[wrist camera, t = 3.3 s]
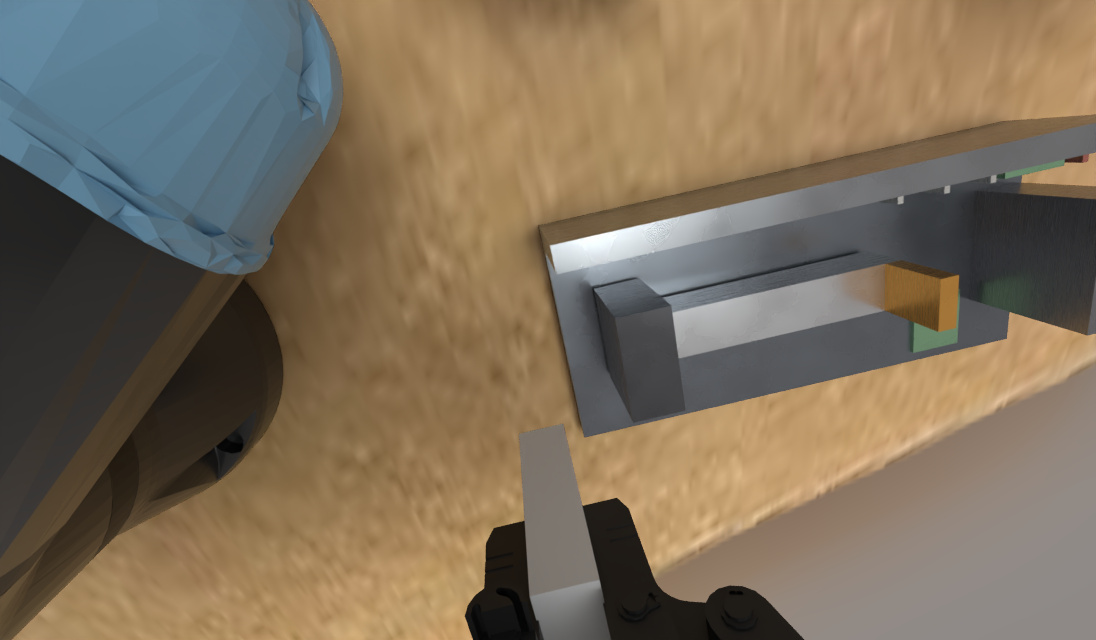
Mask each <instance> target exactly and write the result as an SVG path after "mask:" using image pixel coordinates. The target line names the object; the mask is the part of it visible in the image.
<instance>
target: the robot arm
mask: <svg viewBox="0 0 1096 640" xmlns="http://www.w3.org/2000/svg"><path fill="white" fill-rule="evenodd" d="M342 101H343V78H342V71H341V66H340V62H339V58H338V55H337V51H336V48H335V45H334V43H333V41H332V38H331V37H330V34H329V32H328V30H327V29H326V27H325V25H324V23H323V21H322V19H321V18H320V16H319V15H318V13H317V12H316V10H315V9H314V7H313V6H312V5H311V4H310V2H309V1H308V0H0V640H12V639H13V638H14V637H15V636H16V635H17V634H18V633H19V632H20V631H21V630H22V629H23V628H24V627H25V626H26V625H27V624H28V623H29V622H30V621H31V620H32V619H33V618H34V617H35V616H36V615H37V614H38V613H39V612H40V611H41V610H42V609H43V608H44V607H45V606H46V605H47V604H48V603H49V602H50V601H51V600H52V599H53V598H54V597H55V596H56V595H57V594H58V593H59V592H60V591H61V590H62V589H63V588H64V587H65V586H66V585H67V584H68V583H69V582H70V581H71V580H72V579H73V578H74V577H75V576H76V575H77V574H78V573H79V572H80V571H81V570H82V569H83V568H84V567H85V566H86V565H87V564H88V563H89V562H90V561H91V560H92V559H93V558H94V557H95V556H96V555H97V554H98V553H99V552H100V551H101V550H102V549H103V548H104V547H105V546H106V545H107V544H108V543H109V542H110V541H111V540H112V539H114V538H115V537H116V536H117V535H119V534H121V533H123V532H125V531H127V530H129V529H131V528H133V527H135V526H137V525H138V524H140V523H142V522H144V521H146V520H148V519H150V518H152V517H154V516H156V515H158V514H160V513H162V512H164V511H165V510H167V509H169V508H171V507H173V506H175V505H177V504H179V503H181V502H183V501H185V500H187V499H189V498H191V497H192V496H194V495H196V494H198V493H200V492H202V491H204V490H206V489H207V488H209V487H211V486H212V485H214V484H215V483H217V482H218V481H219V480H221V479H222V478H223V477H225V476H226V475H227V474H228V473H229V472H231V471H232V470H233V469H234V468H235V467H236V466H237V465H238V464H239V463H240V462H241V461H242V460H243V458H244V457H245V456H246V455H247V454H248V452H249V451H250V450H251V449H252V448H253V447H254V445H255V444H256V443H257V442H258V441H259V439H260V438H261V437H262V436H263V434H264V433H265V431H266V430H267V428H268V427H269V425H270V423H271V421H272V419H273V417H274V415H275V412H276V409H277V406H278V403H279V399H280V395H281V389H282V377H283V372H282V358H281V352H280V347H279V343H278V340H277V336H276V333H275V331H274V328H273V325H272V323H271V321H270V319H269V316H268V314H267V313H266V311H265V309H264V307H263V305H262V304H261V302H260V301H259V299H258V297H257V296H256V294H255V293H254V292H253V290H252V289H251V288H250V286H249V285H248V284H247V283H246V282H245V280H244V277H245V276H246V274H247V273H251V272H257V271H258V270H259V269H261V268H262V266H263V265H264V264H265V262H266V261H267V260H268V258H269V256H270V254H271V252H272V249H273V247H274V236H273V231H274V230H275V228H276V226H277V224H278V223H279V221H280V219H281V217H282V216H283V214H284V212H285V211H286V209H287V207H288V206H289V204H290V203H291V201H292V199H293V198H294V196H295V195H296V193H297V191H298V190H299V188H300V187H301V185H302V183H303V182H304V180H305V179H306V177H307V175H308V174H309V172H310V171H311V169H312V168H313V166H314V164H315V163H316V161H317V160H318V158H319V156H320V155H321V153H322V152H323V150H324V148H325V147H326V145H327V144H328V142H329V140H330V139H331V137H332V135H333V133H334V131H335V129H336V127H337V124H338V121H339V118H340V114H341V109H342ZM519 440H520V455H521V471H522V487H523V502H524V518H525V521H522V522H518V523H513V524H509V525H505V526H501V527H496V528H494V529H493V531H492V533H491V535H490V537H489V539H488V541H487V543H486V562H485V585H484V589H483V590H482V591H480V592H479V593H478V594H476V595H475V596H474V598H473V599H472V601H471V602H470V603H469V605H468V607H467V611H466V614H465V618H466V621H467V624H468V626H469V629H470V632H471V635H472V638H473V640H804V639H803V638H802V637H801V636H800V635H799V634H798V633H797V632H796V630H795V629H793V627H792V626H791V625H790V624H789V623H788V622H787V621H786V620H785V619H784V618H783V617H782V616H781V615H780V614H779V613H778V611H776V609H775V608H774V607H773V606H772V605H771V604H770V603H769V602H768V601H767V600H766V599H765V598H764V597H762V596H761V595H760V594H758V593H757V592H756V591H754V590H751V589H748V588H746V587H743V586H727V587H723V588H719V589H717V590H716V591H715V592H714V593H712V594H711V595H710V596H709V598H708V600H707V602H706V603H702V602H688V601H682V600H678V599H676V598H673V597H671V596H669V595H668V594H666V593H665V592H663V591H662V590H661V588H660V587H659V586H658V585H657V583H656V582H655V580H654V577H653V575H652V572H651V569H650V566H649V564H648V561H647V558H646V555H645V552H644V550H643V547H642V544H641V541H640V539H639V537H638V533H637V530H636V528H635V525H634V522H633V519H632V517H631V514H630V511H629V508H627V507H626V506H625V505H624V504H623V503H622V502H621V501H620V500H619V499H617V498H615V499H610V500H606V501H602V502H597V503H593V504H589V505H585V506H582V502H581V498H580V494H579V489H578V485H577V481H576V476H575V472H574V468H573V464H572V459H571V455H570V451H569V446H568V442H567V438H566V434H565V429H564V425H563V424H559V425H555V426H551V427H546V428H542V429H538V430H533V431H529V432H525V433H521V434H519Z"/></svg>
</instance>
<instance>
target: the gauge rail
mask: <svg viewBox="0 0 1096 640" xmlns="http://www.w3.org/2000/svg"><path fill="white" fill-rule="evenodd" d="M1095 152H1096V115H1084V116H1069V117H1055V118H1041V119H1027V120H1012V121H1002V122H998V123H994V124H989V125H985V126H980V127H976V128H971V129H967V130H962V131H958V132H953V133H949V134H944V135H940V136H935V137H931V138H927V139H922V140H918V141H913V142H909V143H904V144H900V145H895V146H891V147H886V148H882V149H877V150H873V151H868V152H864V153H860V154H855V155H851V156H846V157H842V158H837V159H833V160H828V161H824V162H819V163H815V164H810V165H806V166H801V167H797V168H793V169H788V170H784V171H779V172H775V173H770V174H766V175H761V176H757V177H752V178H748V179H743V180H739V181H735V182H730V183H726V184H721V185H717V186H712V187H708V188H703V189H699V190H694V191H690V192H685V193H681V194H676V195H672V196H668V197H663V198H659V199H654V200H650V201H645V202H641V203H636V204H632V205H627V206H623V207H618V208H614V209H609V210H605V211H601V212H596V213H592V214H587V215H583V216H578V217H574V218H569V219H565V220H560V221H556V222H551V223H547V224H542V225H538V226H539V231H540V235H541V240H542V245H543V249H544V254H545V259H546V263H547V268H548V273H549V277H550V282H551V287H552V292H553V296H554V301H555V306H556V310H557V315H558V320H559V324H560V329H561V334H562V338H563V343H564V348H565V353H566V357H567V362H568V367H569V371H570V376H571V381H572V385H573V390H574V395H575V399H576V404H577V409H578V414H579V418H580V423H581V427H582V431H583V434H584V437H589V436H593V435H597V434H602V433H606V432H610V431H614V430H619V429H623V428H627V427H632V426H636V425H640V424H644V423H649V422H653V421H657V420H661V419H666V418H670V417H674V416H678V415H683V414H687V413H691V412H696V411H700V410H704V409H708V408H713V407H717V406H721V405H725V404H730V403H734V402H738V401H742V400H747V399H751V398H755V397H760V396H764V395H768V394H772V393H777V392H781V391H785V390H789V389H794V388H798V387H802V386H806V385H811V384H815V383H819V382H824V381H828V380H832V379H836V378H841V377H845V376H849V375H853V374H858V373H862V372H866V371H870V370H875V369H879V368H883V367H888V366H892V365H896V364H900V363H905V362H909V361H913V360H917V359H922V358H926V357H930V356H934V355H939V354H943V353H947V352H952V351H956V350H960V349H964V348H969V347H973V346H977V345H981V344H986V343H990V342H994V341H998V340H1003V339H1007V331H1008V320H1009V312H1012V313H1015V314H1019V315H1022V316H1025V317H1028V318H1032V319H1035V320H1038V321H1042V322H1045V323H1048V324H1051V325H1055V326H1058V327H1061V328H1065V329H1068V330H1071V331H1075V332H1078V333H1081V334H1084V335H1091V334H1095V333H1096V186H1076V185H1056V184H1036V183H1021V180H1022V175H1024V174H1029V173H1033V172H1038V171H1042V170H1046V169H1051V168H1055V167H1060V166H1064V162H1076V163H1083V162H1087V161H1088V157H1089V154H1091V153H1095ZM865 251H868V252H872V253H876V254H880V255H884V256H887V257H891V258H895V259H899V260H903V261H907V262H911V263H915V264H919V265H922V266H926V267H930V268H934V269H938V270H942V271H946V272H950V273H954V274H958V275H959V287H958V304H957V322H956V328H954V329H950V330H945V331H941V332H937V331H934V330H932V329H929V328H927V327H924V326H922V325H919V324H917V323H914V322H912V321H909V320H907V319H904V318H902V317H899V316H897V315H894V314H892V313H889V312H887V311H881V312H877V313H873V314H868V315H864V316H860V317H856V318H851V319H847V320H843V321H838V322H834V323H830V324H825V325H821V326H817V327H812V328H808V329H804V330H799V331H795V332H791V333H786V334H782V335H778V336H774V337H769V338H765V339H761V340H756V341H752V342H748V343H743V344H739V345H735V346H730V347H726V348H722V349H717V350H713V351H709V352H704V353H700V354H696V355H692V356H687V357H683V358H679V365H680V373H681V380H682V388H683V395H684V402H685V410H686V411H682V412H677V413H673V414H669V415H665V416H660V417H656V418H652V419H648V420H643V421H639V422H635V423H633V421H632V419H631V417H630V415H629V413H628V411H627V409H626V407H625V405H624V403H623V401H622V399H621V398H620V396H619V394H618V392H617V390H616V388H615V386H614V384H613V382H612V380H611V378H610V374H609V369H608V364H607V358H606V353H605V347H604V342H603V337H602V331H601V326H600V320H599V315H598V310H597V304H596V299H595V293H594V288H599V287H603V286H608V285H612V284H616V283H621V282H625V281H630V280H634V279H638V278H640V279H641V280H642V281H643V282H645V283H646V284H647V285H648V286H649V287H650V288H652V289H653V290H654V291H655V292H656V293H657V294H658V295H660V296H661V297H662V298H664V297H668V296H673V295H677V294H681V293H686V292H690V291H694V290H699V289H703V288H708V287H712V286H716V285H721V284H725V283H729V282H734V281H738V280H743V279H747V278H751V277H756V276H760V275H764V274H769V273H773V272H778V271H782V270H786V269H791V268H795V267H799V266H804V265H808V264H813V263H817V262H821V261H826V260H830V259H834V258H839V257H843V256H848V255H852V254H856V253H861V252H865Z"/></svg>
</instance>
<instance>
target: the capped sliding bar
mask: <svg viewBox="0 0 1096 640" xmlns="http://www.w3.org/2000/svg"><path fill="white" fill-rule="evenodd" d="M958 287H959V275H958V274H954V273H950V272H946V271H942V270H938V269H934V268H930V267H926V266H922V265H919V264H915V263H911V262H907V261H903V260H899V259H895V258H891V257H887V256H884V255H880V254H876V253H872V252H868V251H865V252H861V253H856V254H852V255H848V256H843V257H839V258H834V259H830V260H826V261H821V262H817V263H813V264H808V265H804V266H799V267H795V268H791V269H786V270H782V271H778V272H773V273H769V274H764V275H760V276H756V277H751V278H747V279H743V280H738V281H734V282H729V283H725V284H721V285H716V286H712V287H708V288H703V289H699V290H694V291H690V292H686V293H681V294H677V295H673V296H668V297H664V298H662V297H661V296H660V295H658V294H657V293H656V292H655V291H654V290H653V289H652V288H650V287H649V286H648V285H647V284H646V283H645V282H643V281H642V280H641V279H640V278H638V279H634V280H630V281H625V282H621V283H616V284H612V285H608V286H603V287H599V288H594V293H595V299H596V304H597V310H598V315H599V320H600V326H601V331H602V337H603V342H604V347H605V353H606V358H607V364H608V369H609V374H610V378H611V380H612V382H613V384H614V386H615V388H616V390H617V392H618V394H619V396H620V398H621V399H622V401H623V403H624V405H625V407H626V409H627V411H628V413H629V415H630V417H631V419H632V421H633V423H635V422H639V421H643V420H648V419H652V418H656V417H660V416H665V415H669V414H673V413H677V412H682V411H686V410H685V402H684V395H683V388H682V380H681V373H680V365H679V358H683V357H687V356H692V355H696V354H700V353H704V352H709V351H713V350H717V349H722V348H726V347H730V346H735V345H739V344H743V343H748V342H752V341H756V340H761V339H765V338H769V337H774V336H778V335H782V334H786V333H791V332H795V331H799V330H804V329H808V328H812V327H817V326H821V325H825V324H830V323H834V322H838V321H843V320H847V319H851V318H856V317H860V316H864V315H868V314H873V313H877V312H881V311H887V312H889V313H892V314H894V315H897V316H899V317H902V318H904V319H907V320H909V321H912V322H914V323H917V324H919V325H922V326H924V327H927V328H929V329H932V330H934V331H937V332H941V331H945V330H950V329H954V328H956V322H957V304H958Z"/></svg>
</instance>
